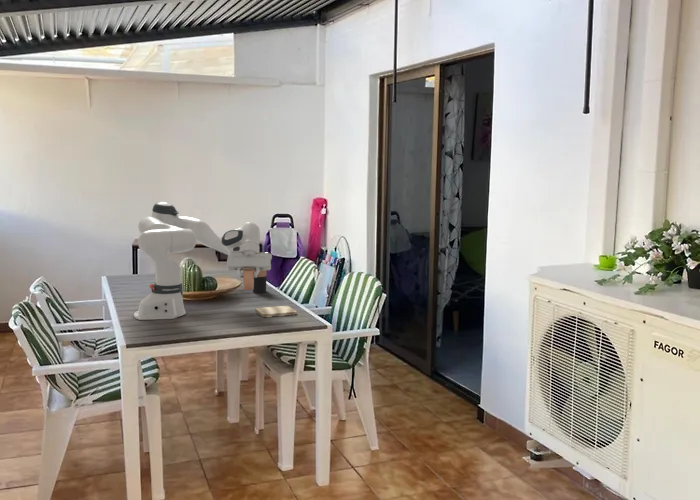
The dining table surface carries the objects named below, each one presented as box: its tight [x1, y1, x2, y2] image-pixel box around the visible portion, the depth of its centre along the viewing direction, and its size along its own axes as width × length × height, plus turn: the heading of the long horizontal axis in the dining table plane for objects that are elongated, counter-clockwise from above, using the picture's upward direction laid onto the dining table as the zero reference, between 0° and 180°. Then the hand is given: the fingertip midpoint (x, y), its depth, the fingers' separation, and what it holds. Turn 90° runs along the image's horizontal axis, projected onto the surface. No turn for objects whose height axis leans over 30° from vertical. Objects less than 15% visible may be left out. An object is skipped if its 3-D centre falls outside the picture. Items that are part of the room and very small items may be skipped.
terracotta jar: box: [242, 267, 254, 291], centre depth 297 cm, size 5×5×10 cm
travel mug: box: [252, 270, 268, 294], centre depth 347 cm, size 8×8×20 cm
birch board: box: [255, 305, 298, 318], centre depth 302 cm, size 16×13×2 cm
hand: (248, 277), depth 296 cm, fingers closed on terracotta jar, 5 cm apart
